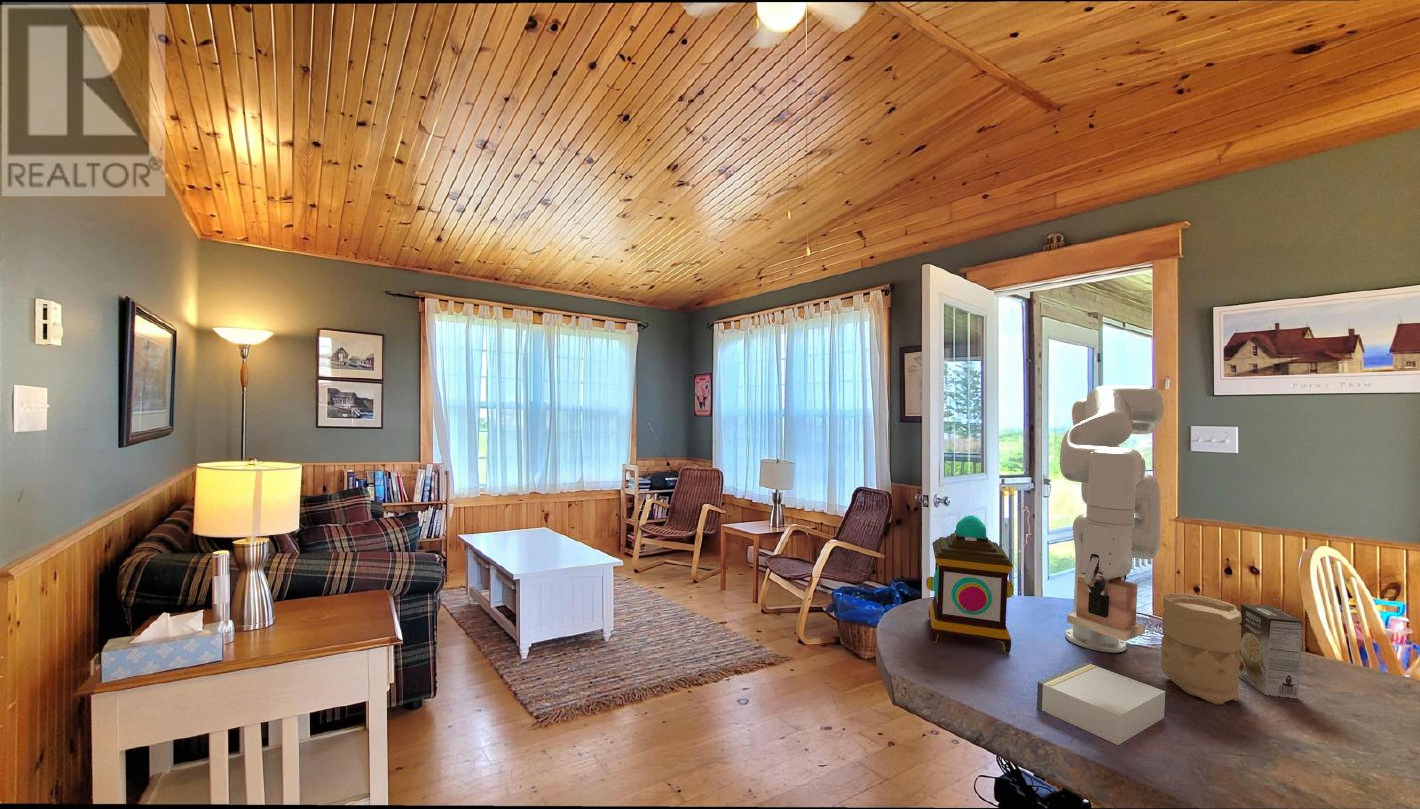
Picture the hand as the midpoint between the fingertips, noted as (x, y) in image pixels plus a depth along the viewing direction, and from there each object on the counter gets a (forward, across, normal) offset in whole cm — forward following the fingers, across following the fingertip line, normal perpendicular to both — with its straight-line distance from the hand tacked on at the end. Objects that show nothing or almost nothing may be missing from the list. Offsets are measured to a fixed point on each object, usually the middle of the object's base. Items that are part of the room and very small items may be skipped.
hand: (1105, 611), depth 113 cm
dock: (+19, 0, 0) cm, 19 cm away
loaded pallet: (+3, 0, 0) cm, 3 cm away
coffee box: (+20, -44, +12) cm, 50 cm away
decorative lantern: (+20, -11, -36) cm, 42 cm away
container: (+20, -29, +5) cm, 35 cm away
